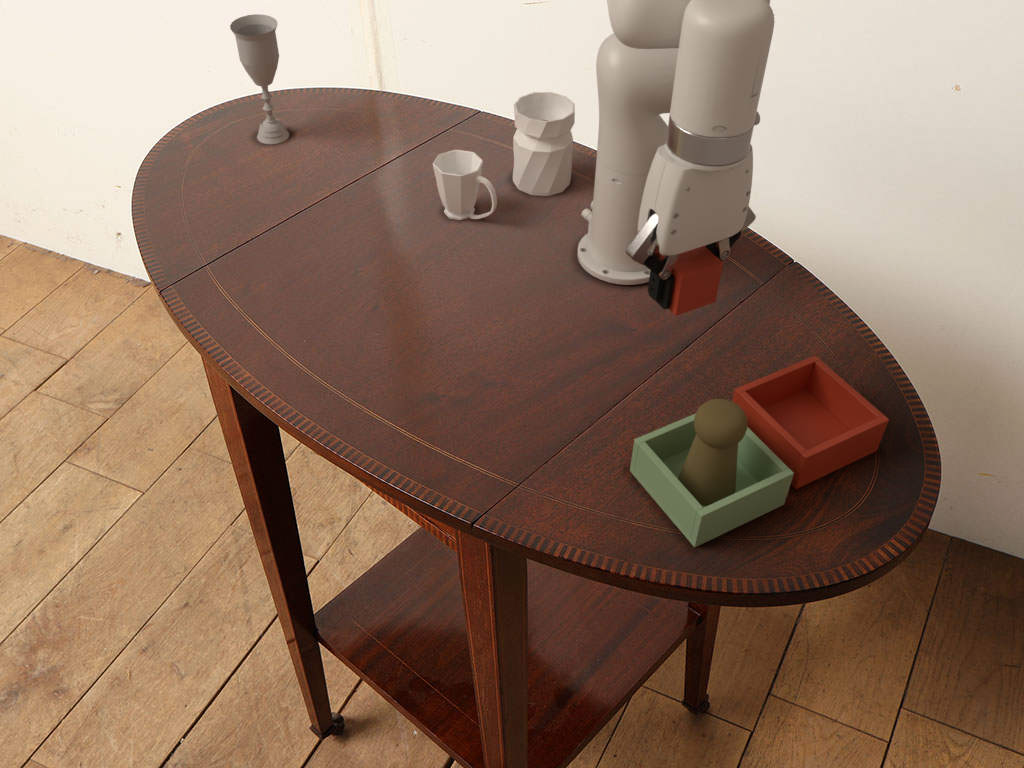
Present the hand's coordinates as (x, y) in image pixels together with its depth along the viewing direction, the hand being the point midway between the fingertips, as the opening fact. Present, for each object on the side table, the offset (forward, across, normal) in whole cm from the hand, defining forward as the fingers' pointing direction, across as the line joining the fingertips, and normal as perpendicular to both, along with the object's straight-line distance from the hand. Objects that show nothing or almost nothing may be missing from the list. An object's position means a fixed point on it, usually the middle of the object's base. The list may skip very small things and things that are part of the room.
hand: (682, 291), depth 101 cm
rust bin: (+17, -11, +11) cm, 23 cm away
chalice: (+17, +21, -78) cm, 83 cm away
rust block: (0, 0, 0) cm, 0 cm away
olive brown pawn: (+16, +3, +12) cm, 21 cm away
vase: (+17, -11, -48) cm, 52 cm away
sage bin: (+17, +3, +12) cm, 21 cm away
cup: (+17, +3, -45) cm, 48 cm away
